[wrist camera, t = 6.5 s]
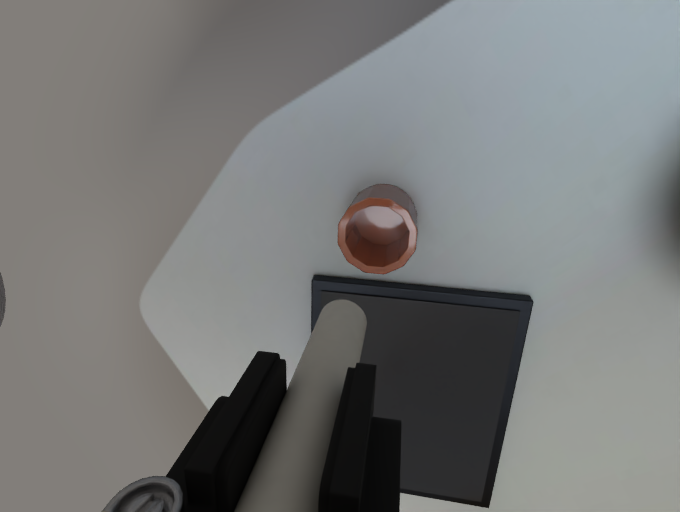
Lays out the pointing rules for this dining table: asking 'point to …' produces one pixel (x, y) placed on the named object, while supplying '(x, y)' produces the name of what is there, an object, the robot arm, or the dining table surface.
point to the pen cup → (379, 229)
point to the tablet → (439, 376)
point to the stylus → (306, 416)
